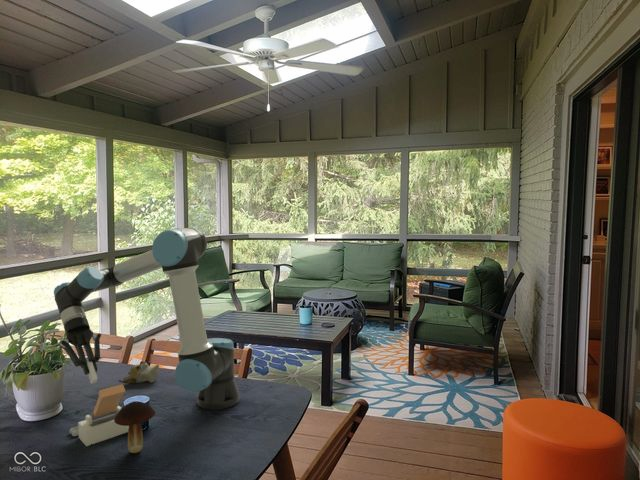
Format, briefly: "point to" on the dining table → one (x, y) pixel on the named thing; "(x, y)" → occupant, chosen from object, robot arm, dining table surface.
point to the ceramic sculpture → (141, 373)
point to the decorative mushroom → (134, 422)
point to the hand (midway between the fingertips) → (94, 381)
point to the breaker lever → (108, 401)
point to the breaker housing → (98, 429)
